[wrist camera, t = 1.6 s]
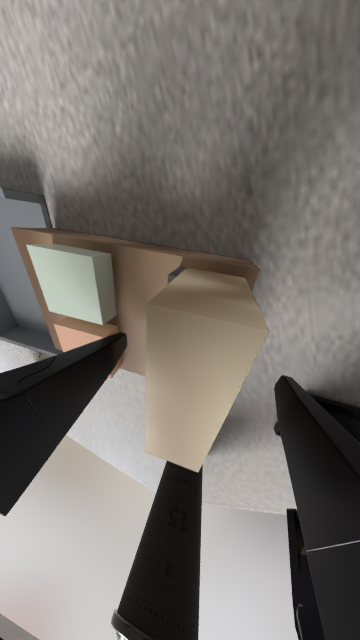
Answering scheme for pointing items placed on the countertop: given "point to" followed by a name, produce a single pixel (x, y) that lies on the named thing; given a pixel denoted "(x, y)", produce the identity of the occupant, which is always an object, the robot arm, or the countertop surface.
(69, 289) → the tile sage
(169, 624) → the drinking cup
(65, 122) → the countertop surface
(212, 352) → the tall cream block
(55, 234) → the walnut board
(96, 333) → the tile terracotta
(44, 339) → the tray
